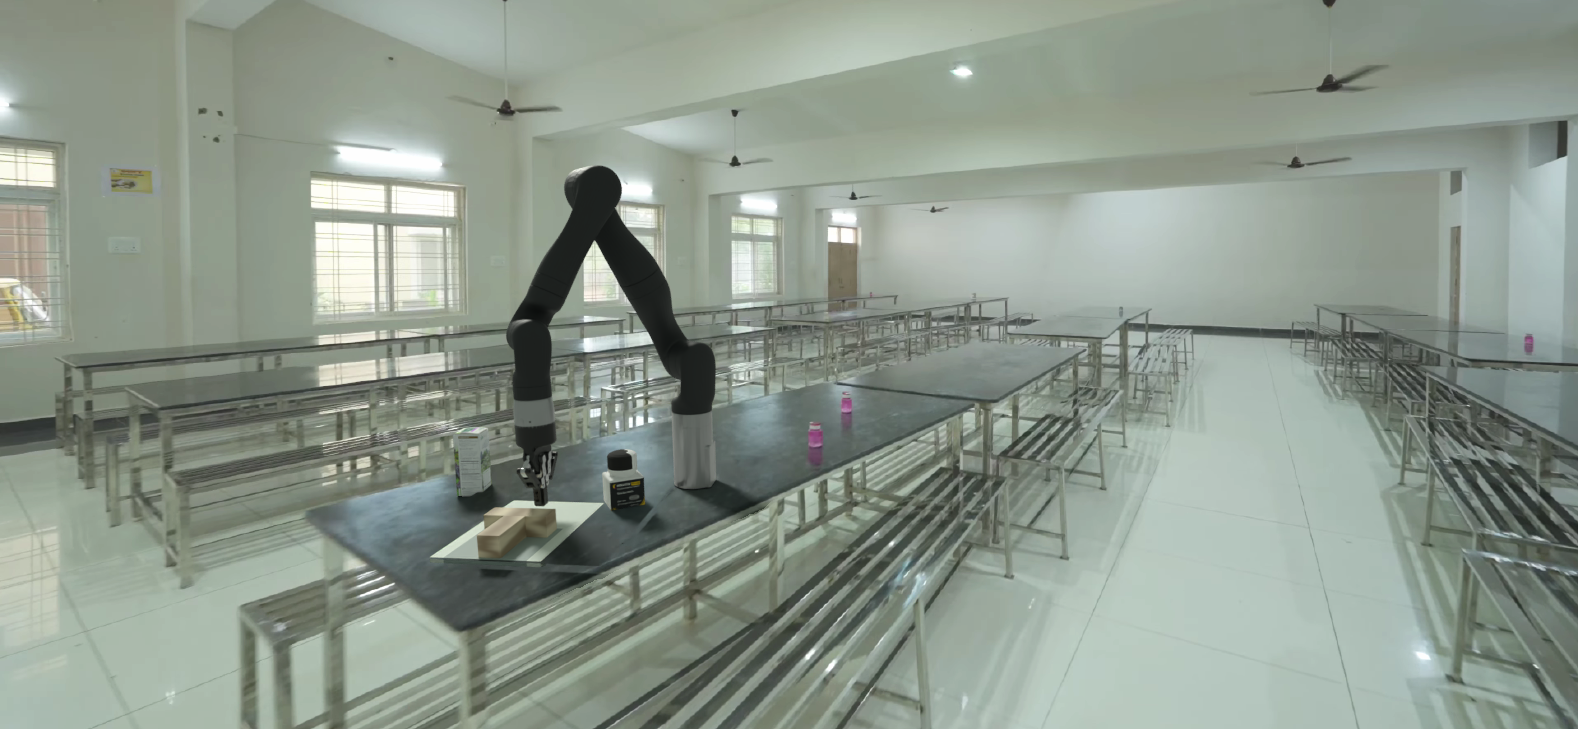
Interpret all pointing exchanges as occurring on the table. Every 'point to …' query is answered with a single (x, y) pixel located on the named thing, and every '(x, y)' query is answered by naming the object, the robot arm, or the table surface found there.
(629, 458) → the medicine bottle
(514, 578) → the table surface
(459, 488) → the syrup box
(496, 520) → the wooden T-block
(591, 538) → the table surface
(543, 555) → the sage board
